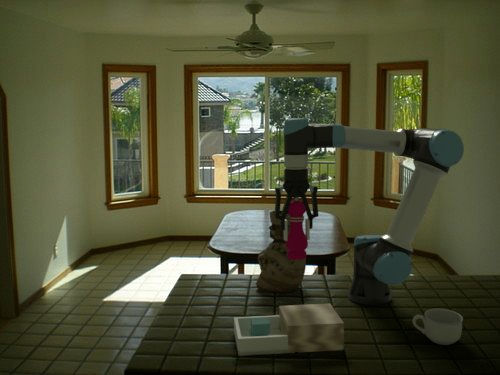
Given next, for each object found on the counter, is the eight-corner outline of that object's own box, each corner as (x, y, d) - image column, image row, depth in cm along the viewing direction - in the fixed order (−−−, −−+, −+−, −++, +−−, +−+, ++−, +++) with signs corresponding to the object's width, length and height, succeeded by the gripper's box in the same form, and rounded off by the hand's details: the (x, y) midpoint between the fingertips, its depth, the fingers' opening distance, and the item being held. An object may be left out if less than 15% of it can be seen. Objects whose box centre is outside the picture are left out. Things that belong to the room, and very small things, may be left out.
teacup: (461, 336, 165) (462, 310, 164) (462, 350, 155) (463, 323, 154) (413, 330, 169) (413, 305, 168) (411, 344, 159) (412, 318, 158)
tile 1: (249, 327, 163) (249, 336, 164) (251, 333, 158) (251, 343, 159) (265, 326, 164) (265, 335, 164) (268, 332, 159) (268, 342, 159)
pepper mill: (306, 260, 172) (306, 198, 170) (284, 260, 174) (283, 197, 171) (308, 254, 179) (308, 194, 177) (287, 254, 181) (286, 194, 178)
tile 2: (267, 326, 163) (267, 317, 163) (269, 333, 158) (269, 323, 158) (250, 327, 163) (250, 318, 162) (252, 334, 158) (252, 324, 157)
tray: (279, 330, 170) (279, 315, 170) (288, 353, 154) (287, 336, 154) (234, 332, 169) (233, 317, 168) (238, 355, 153) (238, 338, 152)
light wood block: (329, 327, 172) (329, 303, 171) (343, 349, 156) (343, 323, 155) (279, 330, 170) (279, 305, 169) (288, 353, 154) (287, 325, 153)
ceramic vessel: (241, 288, 211) (240, 211, 207) (283, 277, 224) (283, 205, 220) (273, 301, 196) (272, 219, 192) (316, 289, 209) (316, 212, 205)
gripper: (323, 165, 177) (323, 235, 181) (263, 167, 175) (265, 238, 178) (329, 168, 170) (329, 240, 173) (267, 170, 168) (268, 243, 171)
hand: (296, 239), depth 176 cm, fingers closed on pepper mill, 6 cm apart
